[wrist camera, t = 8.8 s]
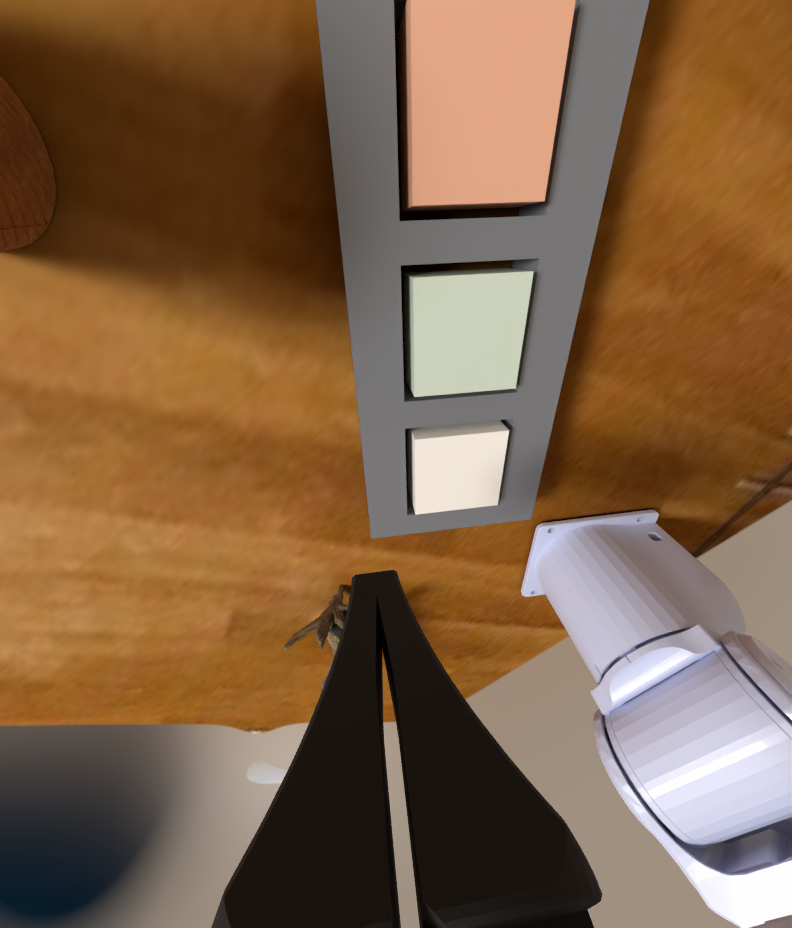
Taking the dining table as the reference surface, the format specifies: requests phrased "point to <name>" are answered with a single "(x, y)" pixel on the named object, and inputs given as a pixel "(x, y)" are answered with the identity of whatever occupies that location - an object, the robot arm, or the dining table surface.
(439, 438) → the ivory key
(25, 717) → the dining table surface
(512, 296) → the sage key
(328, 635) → the eagle figurine
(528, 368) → the key frame
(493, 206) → the terracotta key
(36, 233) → the disposable coffee cup
